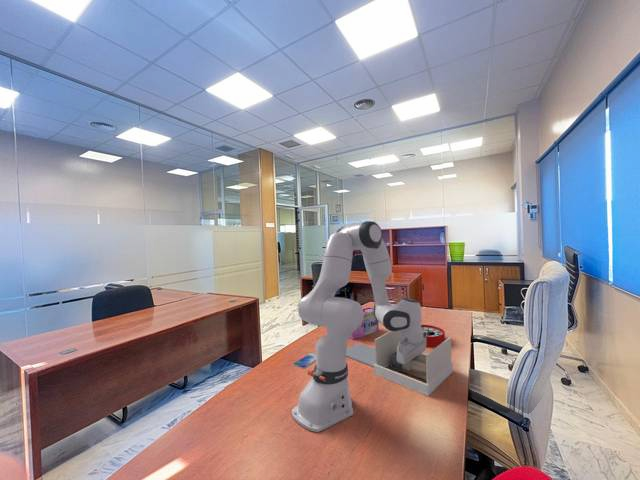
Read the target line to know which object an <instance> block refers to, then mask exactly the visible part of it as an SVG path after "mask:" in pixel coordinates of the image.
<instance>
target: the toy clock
mask: <svg viewBox="0 0 640 480" xmlns="http://www.w3.org/2000/svg"><path fill="white" fill-rule="evenodd" d="M421 327H422V331H426V332H427V336H426V348H436V347H437V346H438V345H440V344H441V343H443V342H444V341H445V340H446V335H445V333H446V331H445V330H444V329H443V328H441V327H439V326H434V325H430V324H421Z"/></svg>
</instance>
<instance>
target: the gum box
mask: <svg viewBox="0 0 640 480" xmlns="http://www.w3.org/2000/svg"><path fill="white" fill-rule="evenodd" d="M362 309H363V312H364V319H363V322H362V324H361V326H360V327H359V328H358V329H357V330H355V331H354V332H353V333H352V334H351V335H350V337H349V339H350V340H355V339H360V338H362V337H365V336H368V335H370V334H373V333H376V332H379V331H380V330H379V329H380V328H379V323H380V322H378V321H377V320H376V319H375V317H374V313H373V311H374V307H366V308H362Z"/></svg>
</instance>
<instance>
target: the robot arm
mask: <svg viewBox="0 0 640 480" xmlns="http://www.w3.org/2000/svg"><path fill="white" fill-rule="evenodd" d="M354 251H361V253H362V257H363V258H362V259H363V263H364V266H365V270H366V272H367V275H368V279H369V281H370V284H371V290H372V295H373V300H374V305H373V309H374V311H373V313H374V317H375V319H376V320H377V321H378V323H380V324H381V326H383V327H384V328H385V329H387V330H388V331H389V332H390V331H399V330H401V339H402V340H403V341H401V342H400V344H399V345H398V347H397V362H398V363H400V364H403V365H406V370H411V365H410V361H411V360H412V359H414V358H415V357H418V358H419V357H420V354H421V353H424V352H425V351H426V349H427V347H426V336H427V332H426V331H422V327H421V325H422V321H423V316H422V308H421V307H422V306H421V304H420V302H419V301H417V300H416V299H413V298H408V297H405V298H404V297H403V298H401V299H400V301H399V302H397V303H396V304H394V305H392V303H391V302H390V300H389V298H388V297H389V296H388V292H387V287H386V282H387V280H388V279H389V278H390V276H392V273H393V267H392V262H391V257H390V254H389V251H388V248H387V245H386V243H385V241H384V239H383V231H382V229H381V227H380V225H379V224H378V223H377V222H375V221H372V220H371V221H370V220H367V221H363V222H357V223H356V222H355V223H351V224H348V225H345V226H342V227H340V228H339V229H338V230H336V232H333V233H332V234H331V235H329V237H328V240H327V243H326V246H325V250H324V253H323V254H324V255H323V258H322V264H321V269H320V273H319V277H318V280H317V282H316V283H315V285H314V287H313V288H312V290H311V291H309V293H307V294H306V295H304V296H303V297H302V298H301V299H300V301H299V303H298V307H297V309H298V311H297V312H298V316H299V318H300V319H301V320H303V321H304V322H306V323H309V324H310V325H314V326H320V327H324V328H326V330H327V331H326V333H327V334H326V335H323V336H322V337H320V338H319V339H318V340H317V342H316V344H315V354H316V361H315V364H314V368H313V369H311V368H308V369H307V371H306V374H307V375H308V376H310V377H311V379H310V380H309V381H308V383H307V384H306V386H305V387H304V388H303V389H302V391H301V392H300V394H299V397H298V403H297V404H296V406H294V407H293V408H292V409H291V416H292V418H293V420H294V421H295V422H296V423H298V425H300V426H301V427H303V428H305V429H306V430H308V431H311V432H314V433H315V432H316V433H319V432H322V431H323V430H325V429H327V428H329V427H331V426H334V425H335V424H338V423H339V422H342V421H343V420H345V419H348V418H349V417H351V416H353V415H355V414H354V408H353V401H352V398H351V391H350V387H349V381H348V376H349V369H348V368H349V367H348V363H347V357H346V349H347V348H348V347H347V346H348V341H349V339H350V338H349V337H350V335H351V334H352V333H353V332H354V331H355V330H357V329H358V328H359V327H360V326H361V324H362V322H363V319H364V312H363V309H364V308H363V306H362V305H361V303H360V302H358V301H356V300H353V299H350V298H346V297H339V296H336V293H337V292H338V291H339V290H340V289H341V288H343V287H345V286H346V285H348V284H349V281H350V278H351V271H352V263H353V255H354V254H353V253H354Z"/></svg>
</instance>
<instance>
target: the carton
mask: <svg viewBox="0 0 640 480" xmlns="http://www.w3.org/2000/svg"><path fill="white" fill-rule="evenodd" d="M451 338H452V337H448V338H447V339H445V341H444V342H443V343H441V344H440V345H438V346H437V347H433V349H432V350H431V351H429V352H428V353H424V352H423V353H421V354H420V357H419V358H421V359H424V360H426V378H427V380H426V383H425V382H424V381H421V380H418V379H415V378H413V377H410V376H408V375H405V374H403V373H400V372H398V371H396V370H393V369H392V370H391V369H389V368H388V367H390V366H391V355H392V354H393V353H395V352H397V347H398V345H399V344H400V342H401V341H403V340H402V339H401V330H399V331H390V330H389V331H388V332H385V333H384V334H382V335H380V336H379V337H377V338H374V349H375V364H374V367H373V374H374V375H376V376H379V377H381V378H384V379H386V380H388V381H390V382H393V383H395V384H397V385H399V386H403V387H405V388H407V389H410V390H412V391H414V392H417V393H419V394H421V395H424V396H426V397H429V396H430V395H431V394H432V393H433V392H434V391H436V389H437V388H438V387H439V386H440V384H442V383H443V382H444V381H445V380H446V379H447V378H448V377H450V375H451V374H452V373H453V372H454V363H453V361H452V339H451Z"/></svg>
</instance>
